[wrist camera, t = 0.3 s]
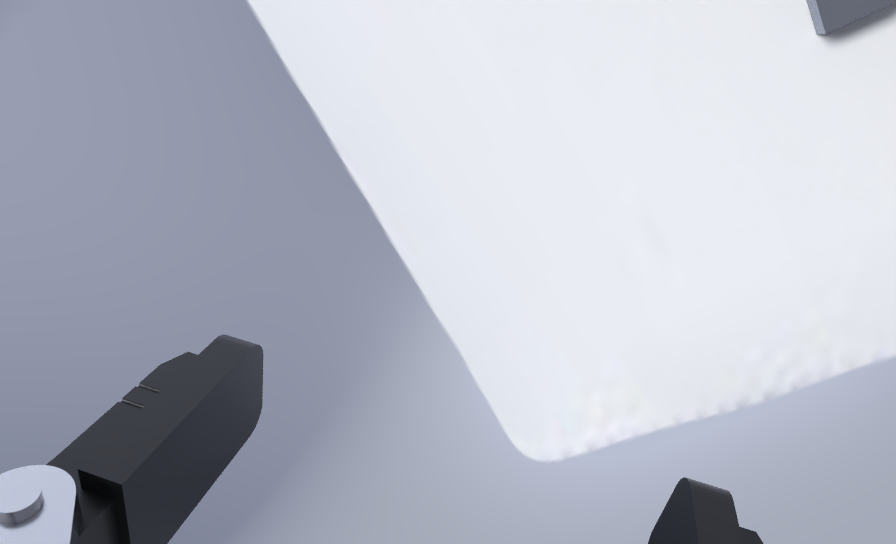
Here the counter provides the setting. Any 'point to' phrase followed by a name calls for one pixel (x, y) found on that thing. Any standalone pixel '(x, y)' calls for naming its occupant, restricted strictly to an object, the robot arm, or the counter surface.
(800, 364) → the counter surface
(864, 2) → the grey rectangular frame
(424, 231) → the counter surface
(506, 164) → the counter surface
